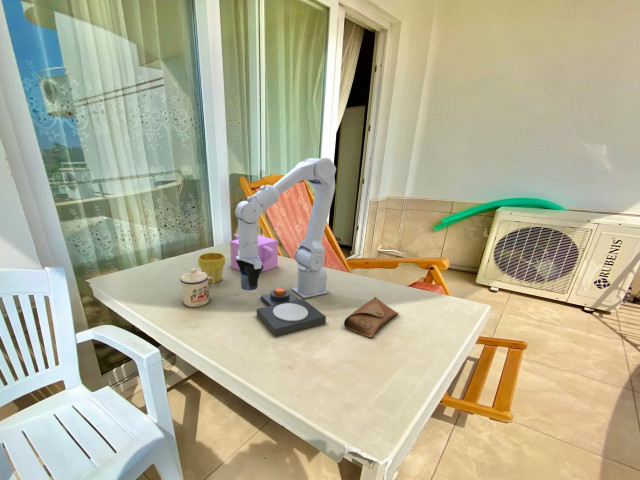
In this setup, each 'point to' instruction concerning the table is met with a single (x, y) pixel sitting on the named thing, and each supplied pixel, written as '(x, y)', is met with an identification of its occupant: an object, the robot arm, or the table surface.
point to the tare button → (279, 291)
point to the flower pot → (212, 265)
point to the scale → (290, 317)
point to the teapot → (265, 252)
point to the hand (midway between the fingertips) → (249, 282)
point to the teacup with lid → (195, 288)
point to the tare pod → (278, 298)
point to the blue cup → (246, 281)
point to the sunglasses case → (369, 318)
